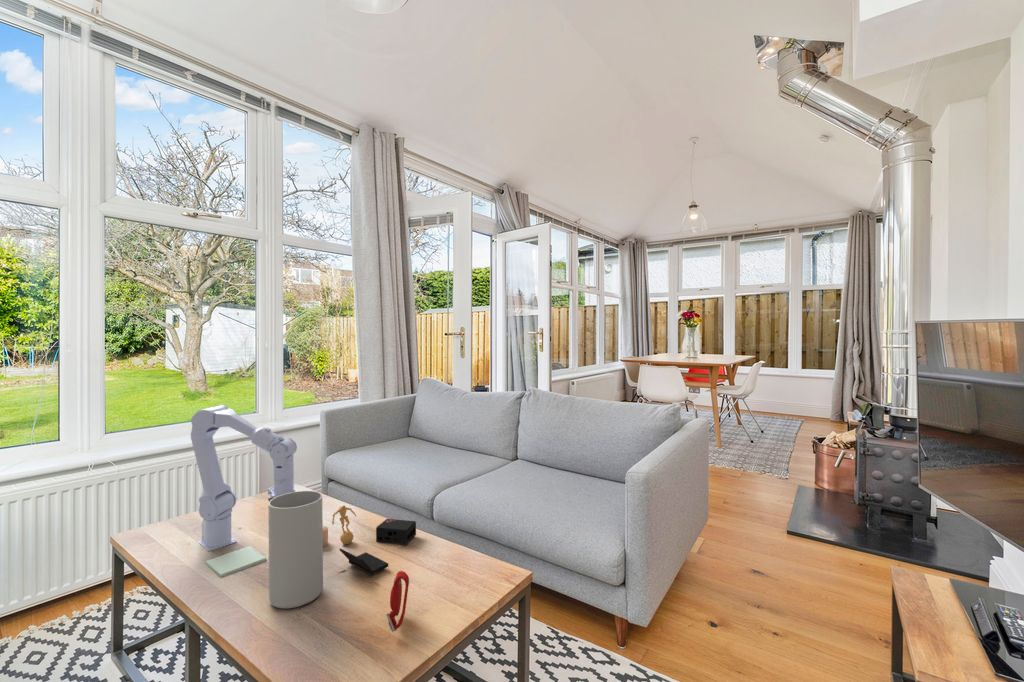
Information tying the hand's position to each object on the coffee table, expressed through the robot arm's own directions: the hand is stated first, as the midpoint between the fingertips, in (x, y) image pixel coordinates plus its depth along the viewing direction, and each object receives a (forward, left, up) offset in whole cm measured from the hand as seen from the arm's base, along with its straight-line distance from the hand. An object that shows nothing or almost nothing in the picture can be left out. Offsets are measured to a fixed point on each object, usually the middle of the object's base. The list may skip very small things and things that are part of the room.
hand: (283, 520), depth 142 cm
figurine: (+14, +13, -8) cm, 21 cm away
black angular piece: (+33, +10, -9) cm, 36 cm away
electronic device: (+25, +25, -9) cm, 36 cm away
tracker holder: (+60, -1, -8) cm, 61 cm away
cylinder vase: (+31, -11, -8) cm, 34 cm away
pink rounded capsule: (+9, +7, -8) cm, 14 cm away
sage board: (0, -14, -8) cm, 16 cm away
